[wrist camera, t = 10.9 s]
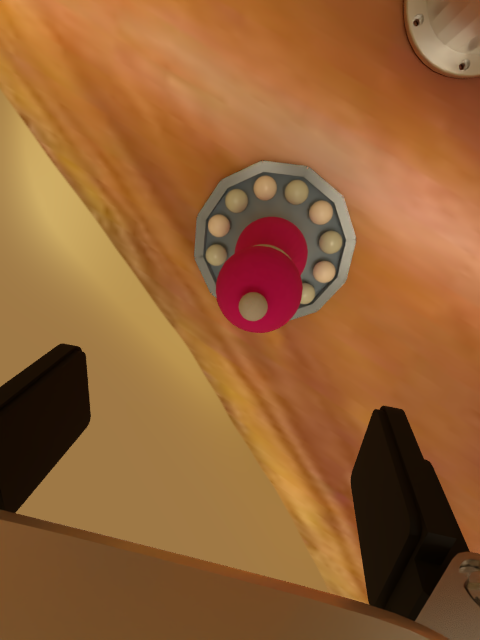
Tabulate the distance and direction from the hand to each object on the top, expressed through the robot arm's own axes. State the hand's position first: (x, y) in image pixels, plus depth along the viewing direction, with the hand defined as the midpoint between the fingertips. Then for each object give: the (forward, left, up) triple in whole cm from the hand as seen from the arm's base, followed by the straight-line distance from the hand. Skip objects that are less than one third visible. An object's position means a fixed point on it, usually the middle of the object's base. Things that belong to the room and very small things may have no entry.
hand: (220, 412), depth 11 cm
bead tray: (0, 0, -31) cm, 31 cm away
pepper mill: (0, 0, -30) cm, 30 cm away
